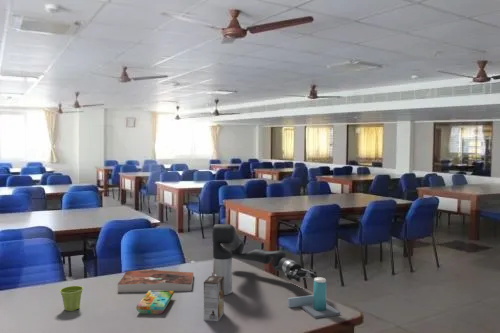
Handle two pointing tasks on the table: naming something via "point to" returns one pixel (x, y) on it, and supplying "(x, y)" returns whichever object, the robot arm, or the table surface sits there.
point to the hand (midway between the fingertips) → (307, 278)
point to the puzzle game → (154, 302)
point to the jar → (319, 294)
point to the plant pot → (71, 297)
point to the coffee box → (213, 298)
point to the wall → (300, 301)
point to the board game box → (155, 281)
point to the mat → (318, 314)
